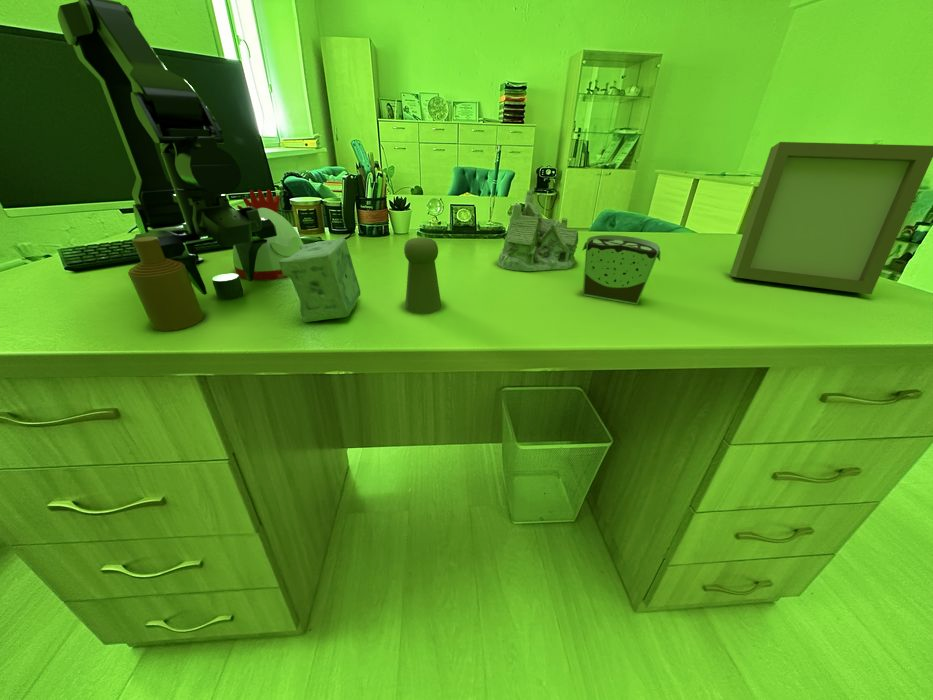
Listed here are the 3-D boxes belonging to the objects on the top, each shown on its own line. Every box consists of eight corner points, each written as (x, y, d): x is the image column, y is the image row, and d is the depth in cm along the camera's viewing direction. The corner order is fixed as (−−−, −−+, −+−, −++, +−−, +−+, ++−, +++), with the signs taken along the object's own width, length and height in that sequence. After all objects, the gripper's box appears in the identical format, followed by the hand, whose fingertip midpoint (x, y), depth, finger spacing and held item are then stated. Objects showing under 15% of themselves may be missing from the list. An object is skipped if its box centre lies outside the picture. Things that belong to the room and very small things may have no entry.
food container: (647, 294, 68) (663, 239, 63) (646, 306, 63) (663, 247, 58) (580, 283, 72) (589, 231, 67) (574, 293, 67) (584, 238, 62)
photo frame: (868, 299, 68) (962, 146, 56) (733, 281, 75) (790, 141, 63) (833, 275, 80) (905, 145, 68) (720, 262, 87) (766, 141, 75)
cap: (237, 289, 66) (231, 271, 64) (248, 294, 64) (243, 276, 62) (213, 295, 63) (207, 277, 61) (224, 301, 61) (218, 282, 59)
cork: (447, 302, 63) (446, 236, 57) (432, 316, 58) (430, 245, 52) (415, 297, 64) (411, 232, 59) (398, 310, 59) (393, 241, 54)
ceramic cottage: (487, 263, 81) (497, 190, 74) (521, 251, 93) (532, 187, 86) (552, 283, 74) (570, 204, 67) (580, 266, 86) (598, 199, 79)
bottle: (190, 309, 58) (160, 231, 52) (212, 319, 55) (182, 237, 49) (144, 324, 53) (105, 240, 47) (165, 335, 50) (126, 247, 44)
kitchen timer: (324, 266, 78) (311, 189, 70) (263, 284, 68) (239, 197, 60) (284, 255, 84) (267, 183, 77) (222, 270, 74) (196, 190, 67)
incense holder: (313, 299, 63) (300, 237, 57) (362, 299, 63) (354, 237, 58) (292, 324, 54) (275, 254, 49) (349, 324, 54) (338, 254, 49)
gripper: (149, 200, 44) (194, 318, 52) (286, 186, 58) (306, 281, 66) (110, 192, 49) (157, 300, 57) (245, 181, 63) (268, 269, 71)
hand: (228, 287), depth 63 cm, fingers open, 7 cm apart
